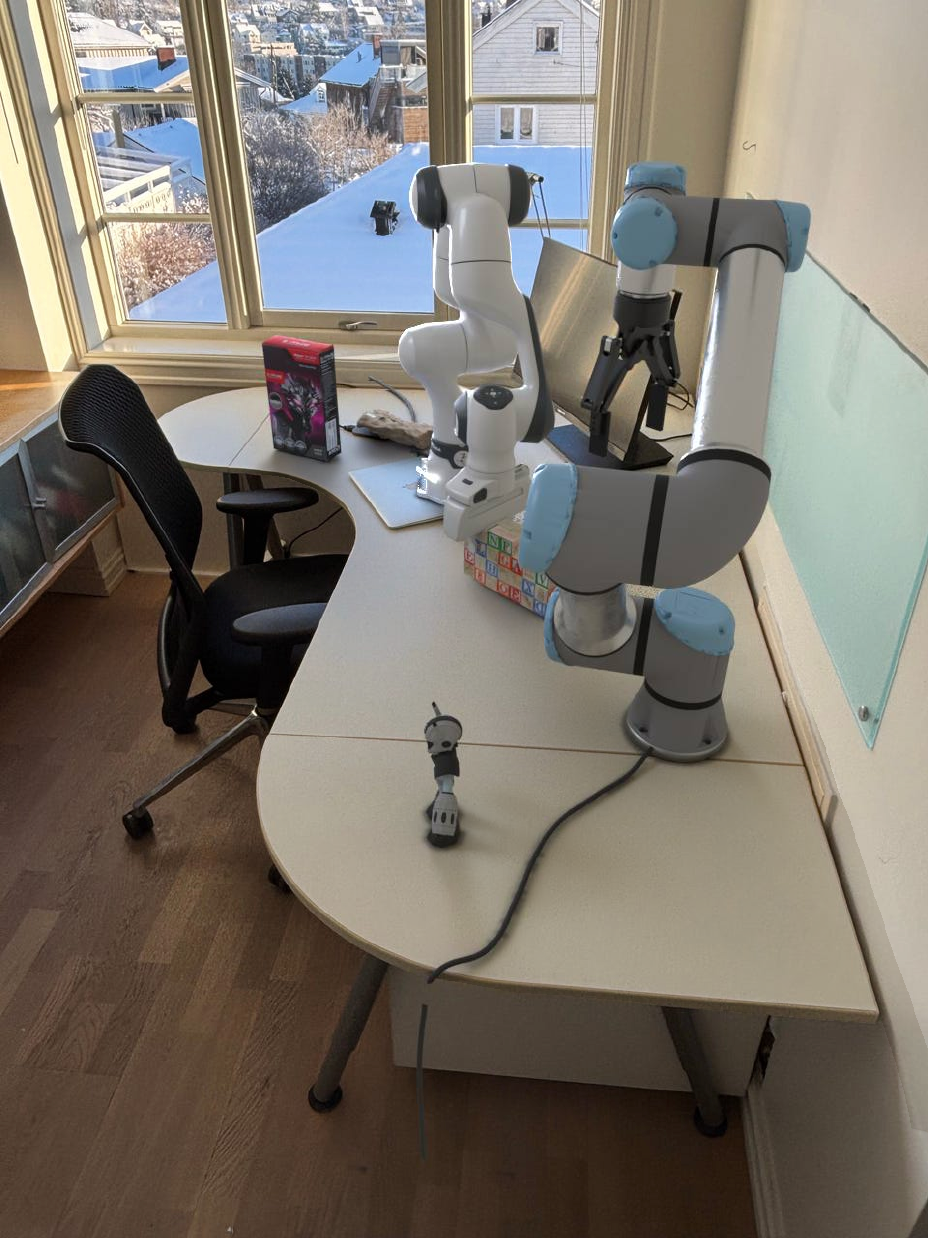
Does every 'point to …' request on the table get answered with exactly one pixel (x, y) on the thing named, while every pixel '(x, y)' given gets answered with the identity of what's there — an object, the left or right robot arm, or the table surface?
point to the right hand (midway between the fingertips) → (626, 441)
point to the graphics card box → (302, 396)
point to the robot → (443, 777)
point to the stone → (396, 428)
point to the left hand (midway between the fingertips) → (488, 543)
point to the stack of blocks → (507, 567)
